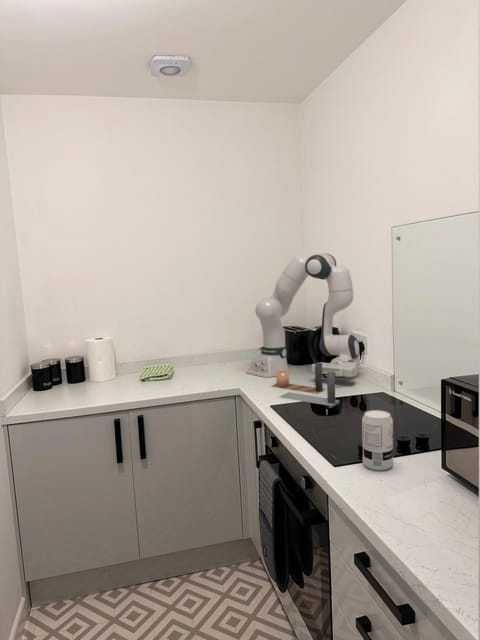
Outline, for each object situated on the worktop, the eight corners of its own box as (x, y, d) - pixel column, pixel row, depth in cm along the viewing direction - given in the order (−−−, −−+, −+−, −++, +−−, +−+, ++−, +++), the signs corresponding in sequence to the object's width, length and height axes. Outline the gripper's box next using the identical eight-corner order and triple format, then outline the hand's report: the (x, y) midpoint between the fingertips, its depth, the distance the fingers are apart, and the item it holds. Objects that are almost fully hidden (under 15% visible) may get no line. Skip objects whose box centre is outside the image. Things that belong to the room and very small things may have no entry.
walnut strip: (270, 388, 221) (269, 360, 220) (280, 384, 228) (279, 357, 226) (317, 396, 207) (316, 365, 205) (326, 391, 213) (326, 362, 211)
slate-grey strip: (278, 399, 205) (277, 368, 203) (288, 394, 211) (287, 365, 209) (330, 408, 190) (329, 375, 188) (339, 402, 196) (338, 371, 195)
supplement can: (358, 460, 142) (358, 410, 140) (386, 458, 143) (386, 408, 141) (368, 472, 134) (367, 419, 132) (397, 470, 135) (397, 417, 133)
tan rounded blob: (274, 386, 221) (273, 373, 221) (281, 383, 226) (280, 370, 225) (284, 387, 218) (284, 374, 217) (291, 384, 222) (290, 371, 222)
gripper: (319, 358, 231) (304, 363, 220) (360, 362, 219) (346, 368, 208) (319, 371, 232) (304, 377, 221) (360, 376, 219) (346, 383, 209)
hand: (325, 373), depth 214 cm, fingers open, 8 cm apart
